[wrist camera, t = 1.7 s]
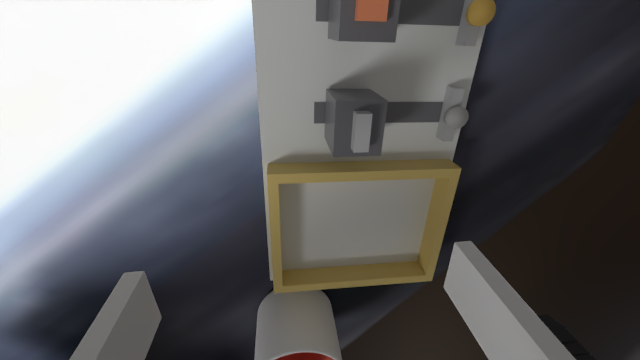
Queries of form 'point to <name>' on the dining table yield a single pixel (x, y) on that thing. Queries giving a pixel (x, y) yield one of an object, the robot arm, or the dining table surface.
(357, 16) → the breaker
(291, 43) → the panel
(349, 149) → the breaker
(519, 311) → the robot arm
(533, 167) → the dining table surface
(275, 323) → the cup
